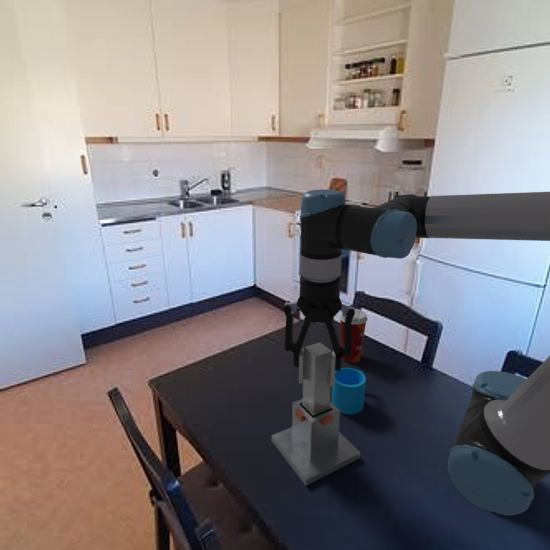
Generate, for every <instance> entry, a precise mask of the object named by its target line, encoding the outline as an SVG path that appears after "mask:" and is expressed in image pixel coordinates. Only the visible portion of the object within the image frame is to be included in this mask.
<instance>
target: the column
mask: <svg viewBox="0 0 550 550" xmlns="http://www.w3.org/2000/svg"><path fill="white" fill-rule="evenodd" d="M303 349H304V371H303V383H302V399H303V403H302V408H303V409H304V410H305V411H306V412H307V413H308V414H309V415H310V416H311V417H312V418H315V417H317V416H320V415H322V414H324V413H327V412H329V411H330V407H329V405H330V402H331V386H330V380H331V358H332V351H333V350H331V349H330V348H328V347H327V346H326V345H325V344H323V343H322V342H316V343H313V344H310V345H306V346H304V347H303Z"/></svg>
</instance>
